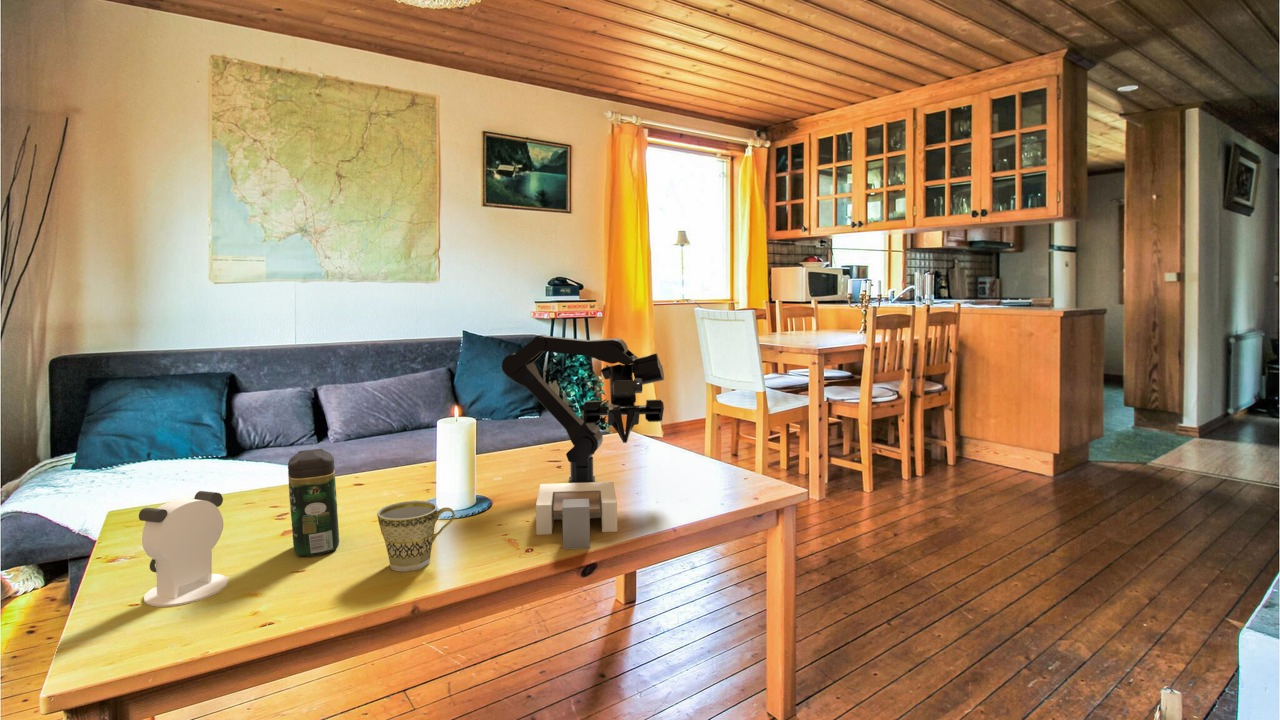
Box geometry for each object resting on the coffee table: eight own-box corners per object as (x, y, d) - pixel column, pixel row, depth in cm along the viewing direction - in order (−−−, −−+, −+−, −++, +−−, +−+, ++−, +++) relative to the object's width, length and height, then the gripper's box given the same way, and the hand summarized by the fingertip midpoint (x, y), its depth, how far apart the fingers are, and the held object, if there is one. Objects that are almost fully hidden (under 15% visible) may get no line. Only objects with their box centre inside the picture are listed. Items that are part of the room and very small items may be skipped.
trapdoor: (554, 495, 140) (554, 491, 140) (598, 493, 141) (598, 490, 140) (553, 514, 132) (553, 510, 131) (600, 512, 132) (599, 508, 132)
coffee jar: (293, 543, 128) (287, 448, 126) (338, 536, 132) (333, 444, 130) (292, 561, 120) (285, 460, 118) (340, 553, 123) (335, 455, 121)
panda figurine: (196, 570, 116) (189, 486, 115) (247, 578, 113) (241, 492, 111) (125, 601, 105) (117, 508, 103) (180, 610, 101) (172, 515, 100)
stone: (562, 507, 124) (563, 549, 124) (589, 506, 124) (590, 548, 125) (563, 499, 129) (563, 539, 129) (589, 498, 129) (589, 538, 130)
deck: (540, 510, 146) (540, 484, 146) (613, 508, 148) (613, 481, 147) (536, 534, 132) (535, 505, 131) (617, 531, 133) (616, 502, 133)
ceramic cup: (381, 580, 112) (378, 522, 111) (378, 558, 121) (375, 505, 120) (460, 567, 117) (458, 511, 116) (452, 547, 126) (450, 495, 125)
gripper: (582, 367, 155) (583, 423, 145) (662, 365, 156) (668, 421, 146) (583, 395, 163) (584, 450, 154) (658, 393, 165) (664, 447, 155)
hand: (625, 441), depth 152 cm, fingers closed
